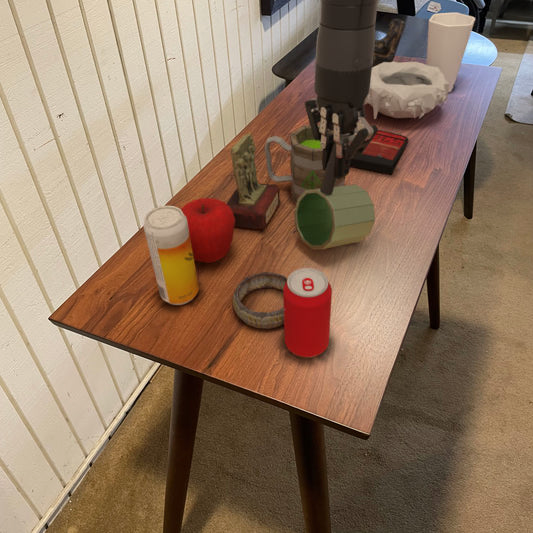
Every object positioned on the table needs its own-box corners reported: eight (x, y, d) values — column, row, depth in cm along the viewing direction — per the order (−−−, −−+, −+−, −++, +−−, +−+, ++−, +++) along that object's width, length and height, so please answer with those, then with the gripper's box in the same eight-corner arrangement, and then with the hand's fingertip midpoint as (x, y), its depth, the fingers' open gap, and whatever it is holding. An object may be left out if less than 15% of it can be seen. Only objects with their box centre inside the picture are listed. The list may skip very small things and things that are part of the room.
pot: (355, 130, 84) (314, 131, 78) (398, 153, 78) (357, 156, 72) (327, 224, 93) (289, 230, 88) (364, 251, 87) (325, 260, 82)
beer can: (207, 291, 81) (195, 214, 71) (178, 313, 78) (161, 235, 68) (181, 275, 84) (166, 198, 74) (152, 295, 81) (132, 218, 71)
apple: (229, 232, 92) (223, 180, 85) (245, 265, 85) (241, 211, 78) (175, 246, 90) (164, 194, 82) (188, 280, 83) (177, 227, 76)
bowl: (368, 91, 136) (371, 52, 129) (448, 100, 130) (456, 60, 123) (348, 125, 121) (351, 84, 115) (437, 138, 115) (445, 95, 109)
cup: (454, 99, 130) (470, 28, 119) (414, 93, 134) (426, 23, 122) (462, 82, 138) (477, 14, 126) (424, 77, 141) (435, 10, 130)
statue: (358, 68, 147) (363, 12, 137) (400, 73, 144) (407, 16, 134) (353, 76, 144) (357, 19, 134) (395, 81, 140) (403, 23, 130)
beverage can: (326, 325, 75) (329, 263, 67) (331, 359, 70) (336, 297, 62) (283, 327, 75) (281, 265, 67) (285, 361, 70) (284, 299, 62)
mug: (348, 181, 103) (353, 126, 95) (339, 212, 95) (344, 155, 87) (273, 173, 107) (271, 119, 99) (259, 202, 99) (255, 145, 91)
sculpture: (265, 233, 91) (262, 159, 81) (223, 226, 93) (215, 153, 84) (281, 203, 98) (279, 131, 88) (241, 197, 100) (236, 126, 90)
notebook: (393, 165, 103) (296, 147, 110) (391, 175, 104) (295, 156, 111) (411, 133, 114) (321, 118, 121) (409, 143, 115) (321, 128, 122)
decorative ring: (223, 324, 76) (289, 338, 73) (221, 309, 73) (289, 323, 71) (246, 279, 83) (306, 290, 80) (245, 264, 81) (306, 275, 78)
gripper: (403, 67, 65) (384, 184, 76) (331, 39, 74) (324, 148, 85) (359, 81, 62) (346, 201, 73) (290, 50, 70) (288, 162, 82)
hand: (334, 172), depth 79 cm, fingers closed on pot, 2 cm apart
